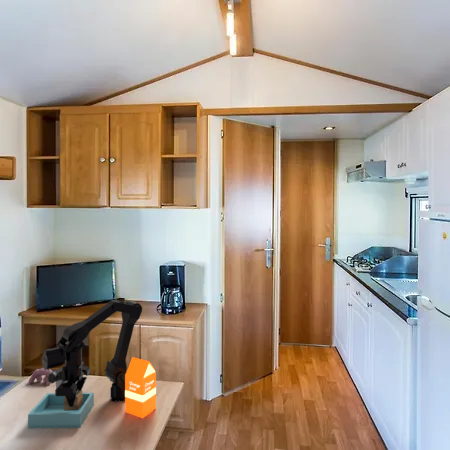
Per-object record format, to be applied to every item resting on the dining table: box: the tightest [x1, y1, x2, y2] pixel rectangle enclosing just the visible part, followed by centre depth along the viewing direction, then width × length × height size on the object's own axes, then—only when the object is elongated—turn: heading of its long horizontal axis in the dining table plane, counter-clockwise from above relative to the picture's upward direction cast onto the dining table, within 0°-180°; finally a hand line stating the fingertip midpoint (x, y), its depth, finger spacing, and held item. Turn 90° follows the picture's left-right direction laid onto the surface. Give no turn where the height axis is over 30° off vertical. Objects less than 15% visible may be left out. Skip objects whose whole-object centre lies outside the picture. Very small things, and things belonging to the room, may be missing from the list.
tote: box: [27, 392, 95, 429], centre depth 135 cm, size 18×15×5 cm
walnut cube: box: [64, 389, 84, 411], centre depth 135 cm, size 5×5×5 cm
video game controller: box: [28, 367, 53, 386], centre depth 162 cm, size 10×5×7 cm, turn 84°
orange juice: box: [124, 356, 157, 419], centre depth 139 cm, size 8×9×20 cm
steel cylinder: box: [55, 379, 67, 390], centre depth 152 cm, size 5×5×7 cm
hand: (73, 402), depth 135 cm, fingers closed on walnut cube, 5 cm apart
